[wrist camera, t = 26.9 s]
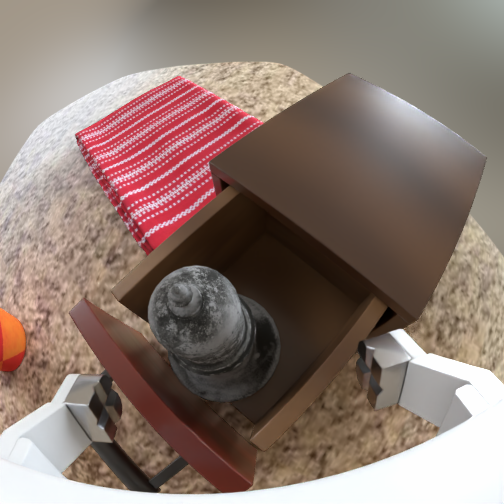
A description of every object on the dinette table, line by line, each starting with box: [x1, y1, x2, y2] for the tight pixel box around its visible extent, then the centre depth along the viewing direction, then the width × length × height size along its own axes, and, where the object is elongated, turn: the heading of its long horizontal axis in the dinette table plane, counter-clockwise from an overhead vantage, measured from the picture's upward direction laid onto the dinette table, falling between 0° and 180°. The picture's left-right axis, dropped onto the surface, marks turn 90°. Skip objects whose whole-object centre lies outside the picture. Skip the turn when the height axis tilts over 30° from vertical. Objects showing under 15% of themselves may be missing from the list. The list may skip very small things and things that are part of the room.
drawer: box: [69, 185, 388, 493], centre depth 15 cm, size 18×11×8 cm, turn 137°
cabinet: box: [209, 73, 487, 354], centre depth 19 cm, size 15×13×10 cm
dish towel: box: [75, 76, 263, 256], centre depth 28 cm, size 17×24×3 cm
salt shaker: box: [148, 266, 281, 402], centre depth 12 cm, size 6×6×12 cm
